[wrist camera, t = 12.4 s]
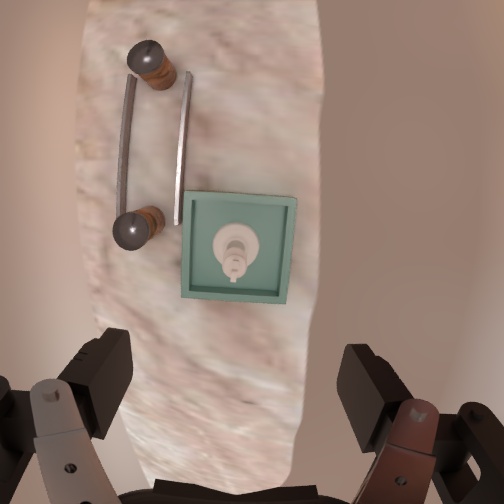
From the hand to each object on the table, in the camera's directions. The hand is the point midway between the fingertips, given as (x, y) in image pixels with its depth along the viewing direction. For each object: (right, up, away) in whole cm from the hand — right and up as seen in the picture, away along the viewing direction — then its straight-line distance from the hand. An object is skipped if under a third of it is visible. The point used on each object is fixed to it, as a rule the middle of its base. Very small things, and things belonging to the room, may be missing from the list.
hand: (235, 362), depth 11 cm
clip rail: (-10, +15, +20) cm, 27 cm away
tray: (-1, +5, +23) cm, 23 cm away
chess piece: (-1, +5, +22) cm, 23 cm away
